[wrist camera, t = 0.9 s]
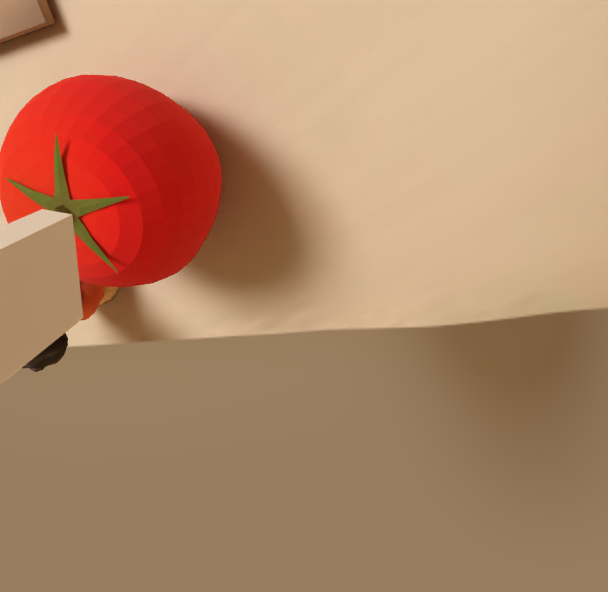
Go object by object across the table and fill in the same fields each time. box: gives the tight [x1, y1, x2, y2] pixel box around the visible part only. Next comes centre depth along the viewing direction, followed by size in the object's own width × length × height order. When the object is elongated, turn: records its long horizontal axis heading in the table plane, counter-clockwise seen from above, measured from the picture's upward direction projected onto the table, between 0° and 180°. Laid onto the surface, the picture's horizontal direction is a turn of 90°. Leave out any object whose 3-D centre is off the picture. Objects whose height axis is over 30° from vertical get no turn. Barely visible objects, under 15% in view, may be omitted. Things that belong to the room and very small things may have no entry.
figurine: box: [22, 281, 120, 372], centre depth 37 cm, size 6×6×12 cm
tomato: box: [0, 75, 222, 287], centre depth 31 cm, size 13×11×14 cm
